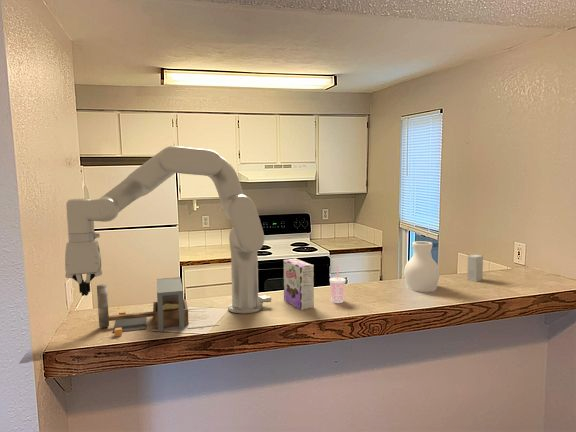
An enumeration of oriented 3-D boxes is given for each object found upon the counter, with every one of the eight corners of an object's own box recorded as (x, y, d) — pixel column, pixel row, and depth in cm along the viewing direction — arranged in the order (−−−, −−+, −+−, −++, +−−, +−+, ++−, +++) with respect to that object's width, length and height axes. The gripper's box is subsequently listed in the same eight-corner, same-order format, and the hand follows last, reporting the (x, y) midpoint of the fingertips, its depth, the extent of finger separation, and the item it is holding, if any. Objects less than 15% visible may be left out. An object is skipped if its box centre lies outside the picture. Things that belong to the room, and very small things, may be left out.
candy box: (283, 301, 169) (282, 259, 168) (296, 298, 172) (296, 257, 170) (300, 311, 157) (300, 266, 155) (314, 308, 160) (314, 264, 158)
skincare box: (473, 280, 198) (474, 254, 196) (482, 282, 194) (483, 255, 193) (466, 282, 194) (467, 255, 192) (475, 284, 190) (476, 257, 189)
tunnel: (211, 307, 162) (210, 274, 161) (219, 325, 143) (218, 288, 142) (116, 316, 153) (114, 281, 152) (111, 337, 134) (108, 297, 133)
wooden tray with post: (186, 312, 156) (184, 274, 154) (188, 324, 144) (187, 283, 143) (101, 321, 148) (99, 281, 147) (96, 334, 137) (94, 290, 135)
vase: (425, 296, 173) (426, 246, 171) (396, 289, 184) (397, 242, 182) (446, 290, 182) (447, 242, 179) (417, 283, 193) (418, 238, 191)
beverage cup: (327, 304, 165) (327, 267, 163) (331, 299, 171) (331, 264, 169) (344, 305, 163) (344, 268, 162) (346, 300, 169) (346, 265, 167)
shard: (184, 316, 152) (183, 311, 153) (196, 308, 148) (195, 303, 149) (155, 315, 145) (155, 310, 146) (167, 307, 141) (167, 301, 142)
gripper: (108, 235, 144) (111, 289, 146) (58, 237, 140) (61, 293, 142) (105, 238, 137) (109, 295, 139) (52, 241, 132) (56, 300, 134)
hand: (85, 294), depth 140 cm, fingers closed
